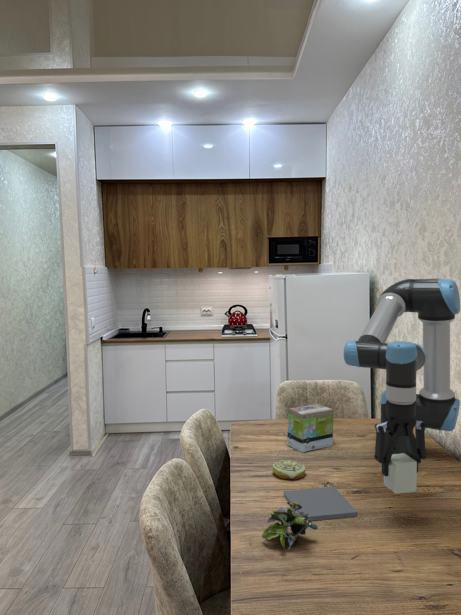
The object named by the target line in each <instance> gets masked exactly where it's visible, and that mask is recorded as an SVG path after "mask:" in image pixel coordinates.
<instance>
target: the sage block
mask: <svg viewBox="0 0 461 615" xmlns="http://www.w3.org/2000/svg"><path fill="white" fill-rule="evenodd" d="M390 464H391V465H392V489H389V490H390V491H391V492H393V494H395V495H396V494H406V493H415V492H417V477H418V476H417V475H418V473H417V462H416V461H415V460H413V459H412V458H411V457H409V456H408V455H406V454H405V453H401V454H392V457H391V460H390Z"/></svg>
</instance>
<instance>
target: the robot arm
mask: <svg viewBox="0 0 461 615" xmlns="http://www.w3.org/2000/svg"><path fill="white" fill-rule="evenodd" d="M460 312H461V298H460V292H459V287H458V285H457V282H456V280H455V281H454V280H453V279H450V278H449V279H447V278H441V277H440V278H417V279H416V278H415V279H414V278H407V279H402V280H399V281H397V282H395V283H393V284H391V285H390V286H388V287H386V289H385V290H383V292H381V294H380V295H379V297H378V298H377V301H376V308H375V309H374V311H373V313H372V315H371V317H370V319H369V320H368V322H367V324H366V326H365V328H364V329H363V331H362V333H361V335H360V336H359V338H358V340H349V341H346V342H345V345H344V346H343V347H344V348H343V360H344V362H345V364H346V365H348V366H350V367H357V368H368V369H380V370H385V374H386V375H385V381H386V382H385V390H383V391H382V392H381V396H380V403H379V404H380V424H379V423H375V424H374V429H375V432H376V433H375V434H376V435H375V446H374V448H375V449H374V460H376V461H377V462H378V463H380V464H381V474H382V476H383V485H384V486H385V487H386V488H387V489H388V490H390V489H392V465H391V464H390V460H391V457H392V454H401V453H405V454H406V455H408V456H409V457H411V458H412V459H413V460H415V461H416V462H417V474H418V473H419V464H420V463H421V462H422V460H425V459H426V455H427V454H426V440H425V439H426V438H425V437H426V436H425V431H426V429H429V430H436V431H444V432H452V431H454V430H455V428H456V425H457V421H458V417H459V414H460V413H459V411H460V405H461V400H460V399H459V398H456V394H455V391H453V389H451V323H452V322H453V321H454V320H455V319H456V315H458V314H460ZM404 313H417V319H418V320H419V321H420V322H422V345H420V344H418V343H414V342H411V341H397V340H396V341H390V342H388V343H386V342H387V340H388V338H389V336H390V334H391V333H392V331H393V328H394V326H395V324H396V322H397V321H398V318H399V317H401V316H402V315H403V314H404ZM422 368H423V387H422V388H421V389H420V390H419V391H418V393H419V394H418V393H417V371H419V370H420V369H422ZM414 429H415V431H414ZM414 432H415V433H414Z"/></svg>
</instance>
